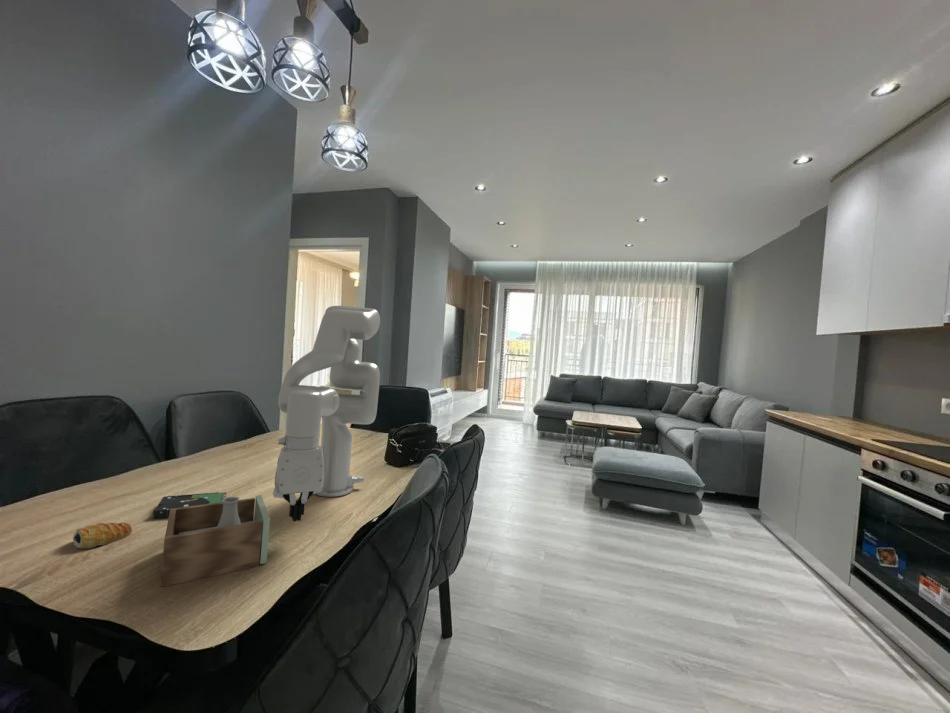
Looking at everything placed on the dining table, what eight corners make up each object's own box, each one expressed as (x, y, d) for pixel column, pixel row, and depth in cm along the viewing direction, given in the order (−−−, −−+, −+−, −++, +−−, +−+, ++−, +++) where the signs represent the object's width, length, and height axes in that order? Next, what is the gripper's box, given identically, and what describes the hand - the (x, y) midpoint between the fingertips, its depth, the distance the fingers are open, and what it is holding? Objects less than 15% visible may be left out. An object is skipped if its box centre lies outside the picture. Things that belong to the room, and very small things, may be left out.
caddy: (251, 535, 93) (254, 498, 93) (258, 565, 81) (262, 523, 81) (167, 550, 84) (170, 508, 84) (160, 587, 71) (164, 538, 71)
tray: (258, 532, 94) (261, 495, 94) (266, 562, 81) (270, 519, 81) (177, 546, 85) (181, 505, 85) (173, 582, 72) (177, 534, 72)
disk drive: (152, 522, 97) (222, 514, 104) (152, 511, 97) (223, 503, 104) (162, 506, 106) (226, 500, 113) (162, 496, 106) (226, 490, 113)
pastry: (125, 528, 92) (126, 512, 92) (136, 537, 88) (138, 520, 88) (69, 543, 84) (70, 525, 84) (79, 553, 80) (81, 535, 80)
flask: (218, 536, 87) (222, 492, 87) (252, 537, 88) (255, 493, 88) (199, 553, 80) (203, 505, 80) (236, 554, 81) (239, 506, 81)
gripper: (268, 448, 84) (261, 531, 84) (338, 443, 93) (332, 519, 93) (264, 440, 90) (258, 518, 91) (330, 436, 99) (325, 508, 99)
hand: (296, 518), depth 92 cm, fingers closed
